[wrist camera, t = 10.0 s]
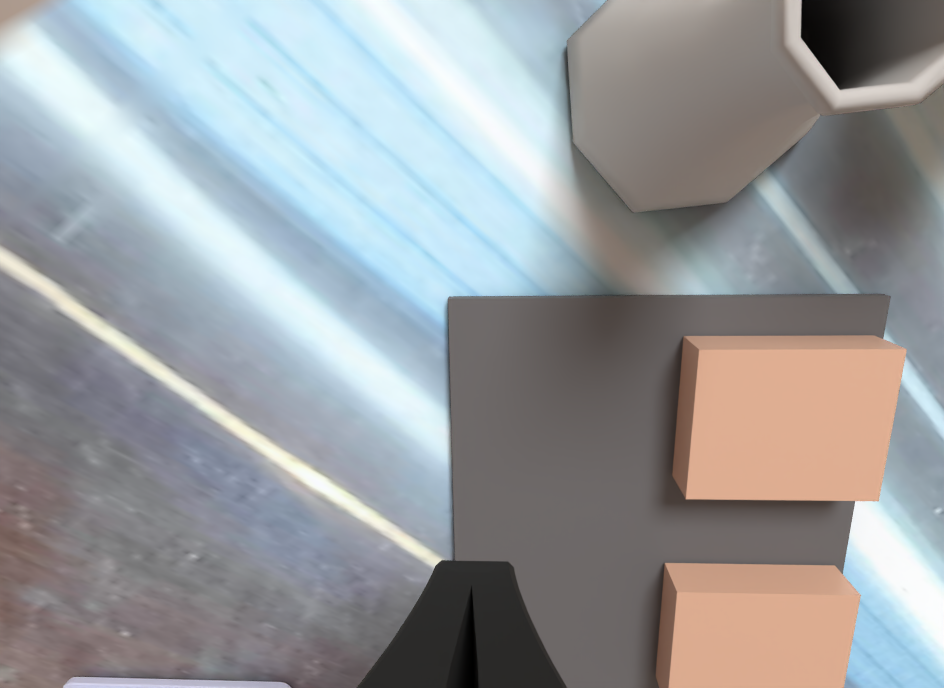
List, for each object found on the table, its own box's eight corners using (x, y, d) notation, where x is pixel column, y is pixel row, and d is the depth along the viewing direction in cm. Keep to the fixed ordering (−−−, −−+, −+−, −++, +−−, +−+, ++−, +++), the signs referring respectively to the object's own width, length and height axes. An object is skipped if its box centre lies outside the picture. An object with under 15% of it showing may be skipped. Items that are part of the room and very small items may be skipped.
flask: (838, 151, 18) (1210, 125, 9) (614, 250, 20) (727, 322, 10) (765, -97, 17) (1123, -464, 7) (525, 26, 18) (556, -148, 8)
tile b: (685, 499, 19) (878, 501, 19) (699, 349, 18) (906, 349, 18) (671, 474, 21) (848, 475, 21) (682, 335, 20) (872, 334, 19)
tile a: (666, 711, 22) (838, 715, 21) (677, 592, 20) (860, 595, 20) (654, 673, 23) (814, 677, 23) (663, 561, 22) (833, 563, 22)
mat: (459, 686, 24) (458, 694, 24) (448, 296, 20) (448, 298, 20) (814, 695, 24) (819, 703, 23) (882, 293, 19) (890, 296, 19)
